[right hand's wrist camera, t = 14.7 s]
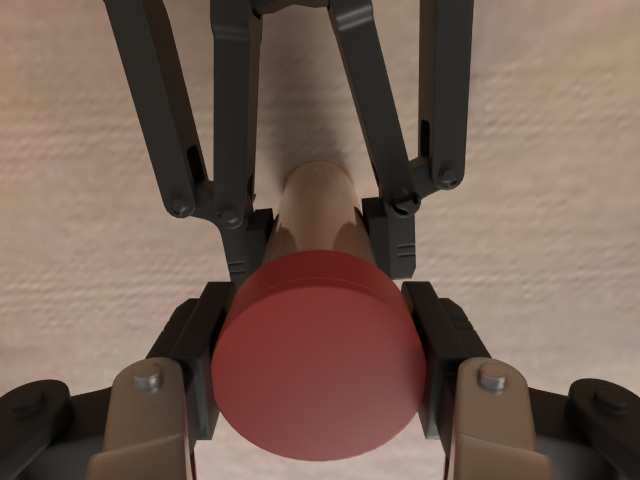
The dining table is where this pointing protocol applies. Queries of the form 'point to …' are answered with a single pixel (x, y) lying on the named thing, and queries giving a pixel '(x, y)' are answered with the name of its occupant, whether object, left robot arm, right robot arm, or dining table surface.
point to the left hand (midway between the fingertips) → (331, 341)
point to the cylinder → (319, 215)
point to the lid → (318, 358)
